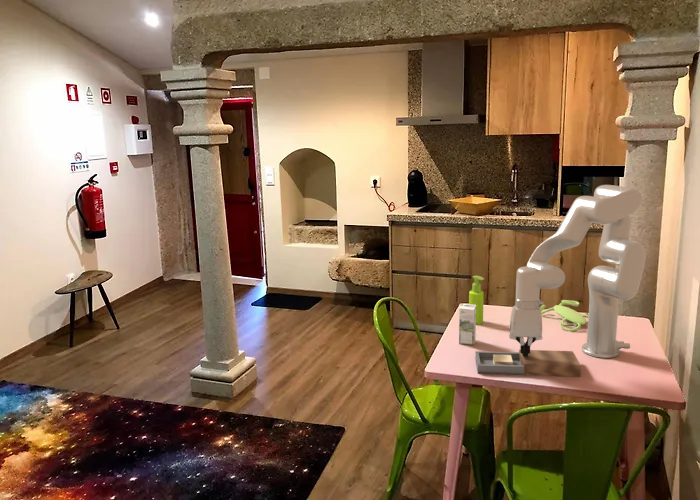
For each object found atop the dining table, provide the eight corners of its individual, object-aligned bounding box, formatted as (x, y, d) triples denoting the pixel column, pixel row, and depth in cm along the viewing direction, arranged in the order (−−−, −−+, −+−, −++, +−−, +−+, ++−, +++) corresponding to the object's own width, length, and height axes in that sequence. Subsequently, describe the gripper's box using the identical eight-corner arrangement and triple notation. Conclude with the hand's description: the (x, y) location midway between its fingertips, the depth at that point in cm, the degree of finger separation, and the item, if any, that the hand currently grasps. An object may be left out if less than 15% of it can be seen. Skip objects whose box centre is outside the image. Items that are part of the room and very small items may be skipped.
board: (572, 361, 203) (572, 351, 202) (580, 376, 191) (581, 365, 190) (518, 360, 205) (519, 349, 204) (523, 375, 194) (524, 363, 193)
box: (518, 360, 205) (519, 352, 205) (523, 375, 194) (524, 366, 193) (475, 359, 207) (475, 351, 207) (477, 373, 196) (477, 365, 195)
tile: (493, 354, 203) (492, 360, 204) (494, 361, 197) (494, 368, 198) (510, 354, 202) (510, 361, 203) (513, 362, 196) (512, 368, 197)
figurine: (570, 308, 258) (570, 296, 257) (608, 329, 233) (609, 315, 232) (532, 312, 255) (532, 300, 253) (566, 333, 229) (567, 320, 228)
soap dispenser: (476, 326, 239) (477, 279, 235) (465, 321, 245) (466, 275, 241) (487, 323, 242) (488, 277, 237) (476, 318, 248) (477, 273, 243)
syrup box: (475, 339, 225) (476, 304, 222) (473, 345, 219) (474, 309, 216) (460, 338, 227) (461, 303, 224) (458, 344, 221) (458, 307, 218)
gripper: (548, 300, 197) (545, 351, 201) (502, 300, 199) (501, 350, 203) (552, 307, 189) (549, 360, 194) (505, 307, 192) (503, 359, 196)
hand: (524, 355), depth 198 cm, fingers closed
